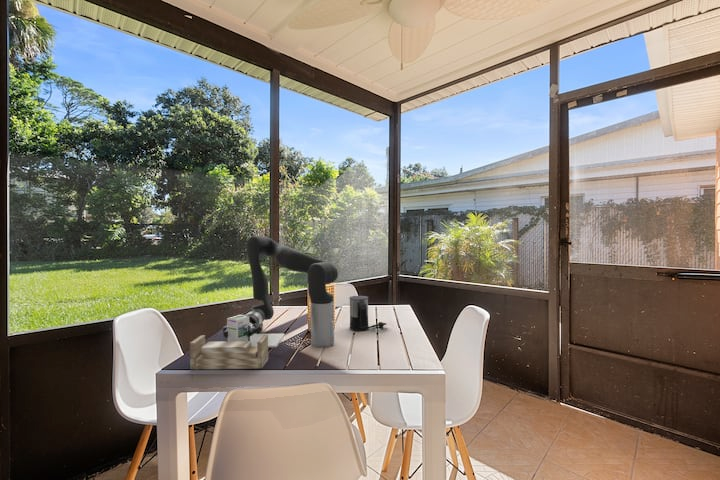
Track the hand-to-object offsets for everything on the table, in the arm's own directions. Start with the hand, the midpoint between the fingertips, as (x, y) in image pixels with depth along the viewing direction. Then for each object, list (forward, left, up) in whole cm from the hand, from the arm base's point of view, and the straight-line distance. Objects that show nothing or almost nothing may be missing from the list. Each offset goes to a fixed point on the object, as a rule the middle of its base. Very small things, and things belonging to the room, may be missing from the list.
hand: (236, 334), depth 123 cm
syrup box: (0, -2, -8) cm, 9 cm away
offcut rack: (0, +7, -8) cm, 11 cm away
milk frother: (-49, -34, -9) cm, 60 cm away
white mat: (-4, -17, -8) cm, 20 cm away
